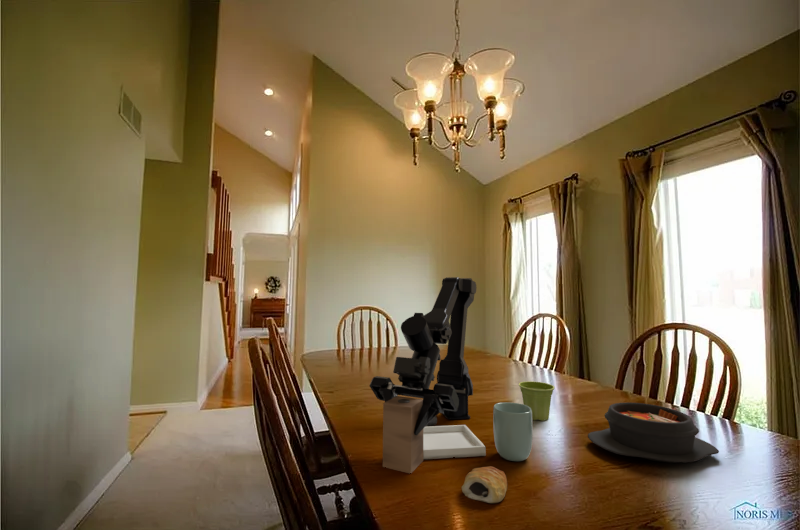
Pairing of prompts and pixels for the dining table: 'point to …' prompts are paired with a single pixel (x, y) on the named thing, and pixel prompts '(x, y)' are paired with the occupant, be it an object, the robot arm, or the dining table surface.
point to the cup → (513, 430)
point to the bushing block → (402, 434)
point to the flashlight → (432, 422)
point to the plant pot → (537, 398)
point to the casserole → (651, 434)
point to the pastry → (485, 484)
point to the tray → (451, 442)
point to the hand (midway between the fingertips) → (400, 431)
